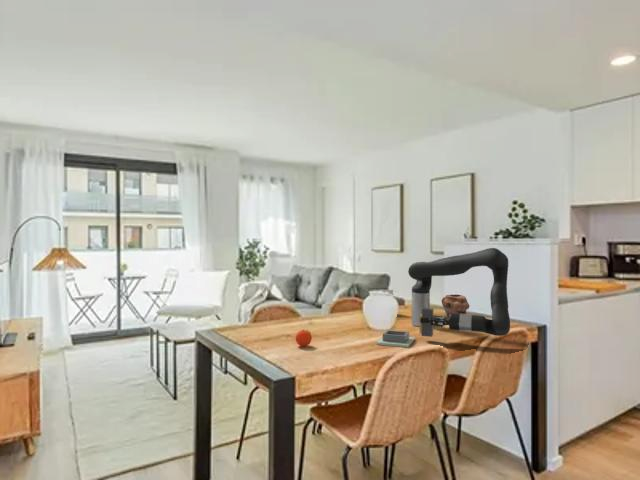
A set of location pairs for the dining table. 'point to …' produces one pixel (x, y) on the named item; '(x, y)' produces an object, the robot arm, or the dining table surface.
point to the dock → (396, 339)
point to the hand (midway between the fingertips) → (421, 319)
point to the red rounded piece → (303, 338)
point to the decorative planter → (455, 304)
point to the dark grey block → (426, 327)
